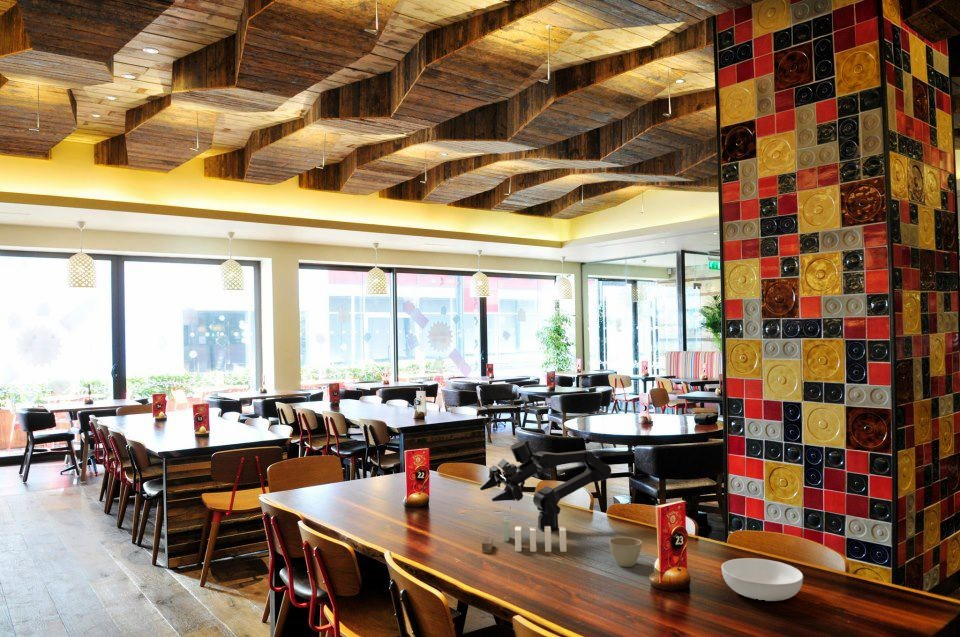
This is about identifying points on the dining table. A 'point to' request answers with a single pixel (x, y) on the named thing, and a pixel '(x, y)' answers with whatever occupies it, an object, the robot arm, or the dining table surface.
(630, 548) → the flower pot
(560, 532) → the domino
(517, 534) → the domino
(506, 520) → the domino sage
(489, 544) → the end block
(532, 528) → the domino
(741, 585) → the serving bowl
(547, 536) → the domino
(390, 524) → the dining table surface
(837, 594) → the dining table surface
